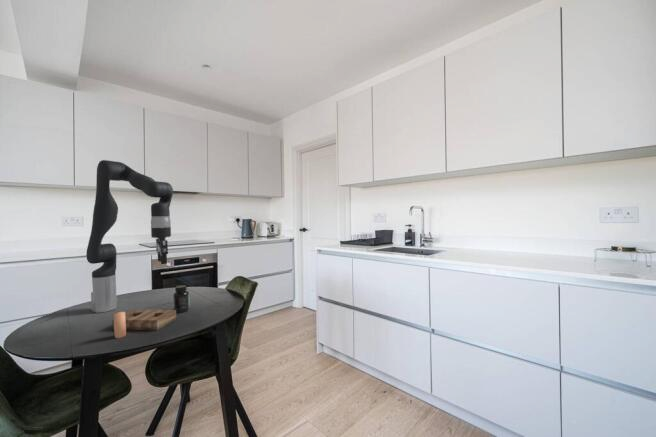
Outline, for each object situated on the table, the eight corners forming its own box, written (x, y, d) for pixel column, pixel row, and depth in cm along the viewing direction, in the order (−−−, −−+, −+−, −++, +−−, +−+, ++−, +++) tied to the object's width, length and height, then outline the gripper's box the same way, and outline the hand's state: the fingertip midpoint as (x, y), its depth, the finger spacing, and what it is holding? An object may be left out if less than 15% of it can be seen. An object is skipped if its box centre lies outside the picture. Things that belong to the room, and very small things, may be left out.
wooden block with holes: (112, 329, 116) (112, 319, 116) (135, 318, 128) (135, 309, 127) (157, 330, 114) (157, 320, 114) (176, 318, 126) (175, 309, 125)
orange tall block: (112, 338, 107) (111, 315, 107) (120, 334, 111) (119, 311, 111) (120, 338, 107) (119, 315, 107) (128, 334, 110) (127, 311, 110)
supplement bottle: (192, 308, 139) (191, 284, 139) (184, 313, 132) (183, 288, 132) (179, 308, 140) (178, 284, 139) (170, 313, 133) (169, 288, 133)
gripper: (149, 226, 127) (150, 261, 127) (153, 227, 116) (154, 266, 116) (167, 225, 131) (169, 259, 132) (173, 226, 120) (174, 263, 121)
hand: (162, 262), depth 124 cm, fingers open, 8 cm apart
